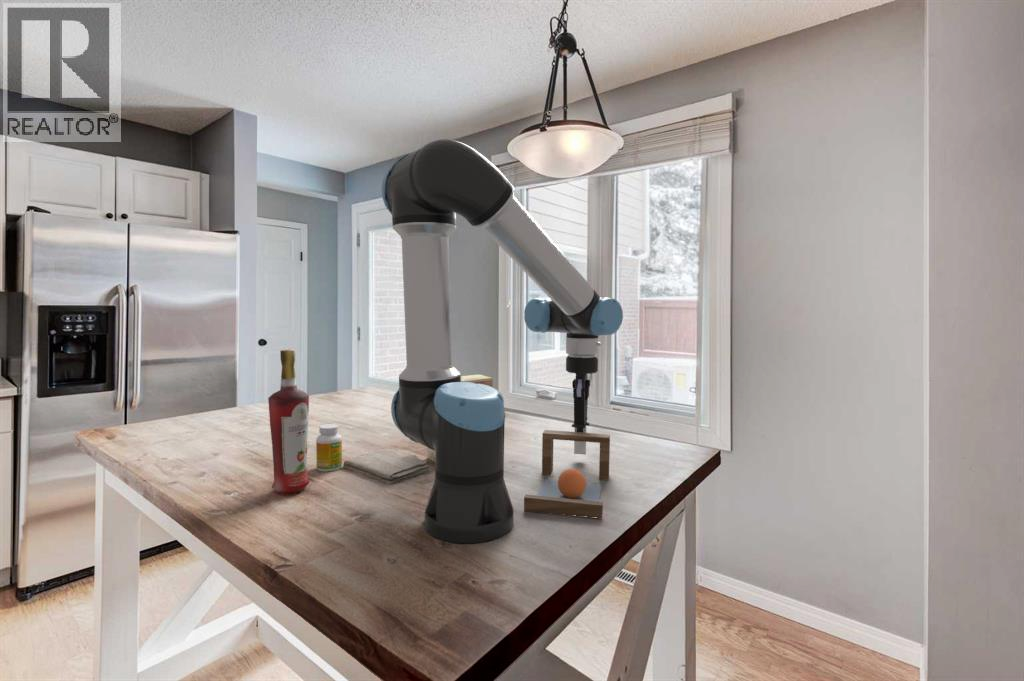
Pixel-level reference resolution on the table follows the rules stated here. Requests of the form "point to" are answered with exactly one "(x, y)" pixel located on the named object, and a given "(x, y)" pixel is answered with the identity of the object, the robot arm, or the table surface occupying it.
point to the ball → (571, 483)
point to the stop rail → (563, 506)
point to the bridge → (575, 436)
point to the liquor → (289, 430)
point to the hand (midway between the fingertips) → (580, 453)
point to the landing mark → (552, 490)
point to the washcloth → (388, 465)
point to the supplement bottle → (329, 448)
